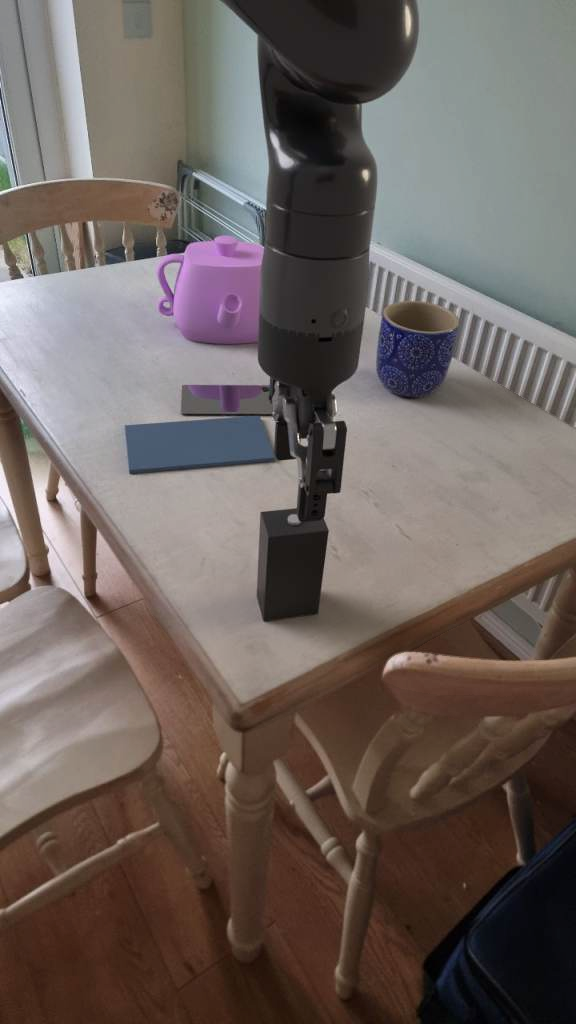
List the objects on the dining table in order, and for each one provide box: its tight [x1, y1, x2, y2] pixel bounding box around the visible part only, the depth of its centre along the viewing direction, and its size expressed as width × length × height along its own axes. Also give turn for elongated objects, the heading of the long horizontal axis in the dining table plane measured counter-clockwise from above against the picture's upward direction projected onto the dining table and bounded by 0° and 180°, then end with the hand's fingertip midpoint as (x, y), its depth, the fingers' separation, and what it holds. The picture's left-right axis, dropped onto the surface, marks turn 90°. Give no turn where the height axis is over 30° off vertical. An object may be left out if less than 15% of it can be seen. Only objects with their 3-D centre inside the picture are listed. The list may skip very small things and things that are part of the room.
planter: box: [375, 300, 461, 398], centre depth 101 cm, size 11×11×11 cm
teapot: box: [156, 235, 264, 345], centre depth 112 cm, size 19×21×14 cm
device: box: [256, 507, 330, 622], centre depth 65 cm, size 6×4×11 cm, turn 103°
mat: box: [124, 415, 276, 475], centre depth 89 cm, size 18×10×1 cm, turn 103°
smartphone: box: [180, 384, 273, 416], centre depth 98 cm, size 8×1×16 cm
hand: (297, 486), depth 59 cm, fingers open, 8 cm apart
